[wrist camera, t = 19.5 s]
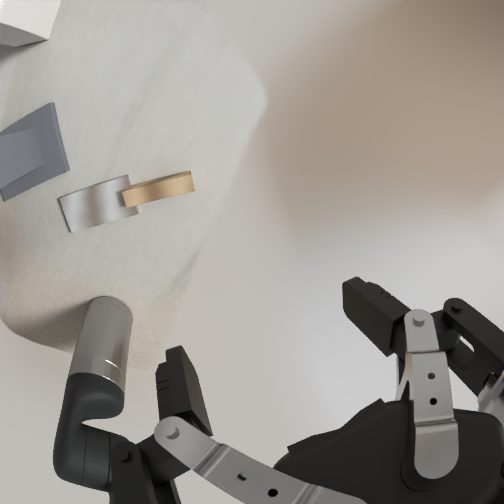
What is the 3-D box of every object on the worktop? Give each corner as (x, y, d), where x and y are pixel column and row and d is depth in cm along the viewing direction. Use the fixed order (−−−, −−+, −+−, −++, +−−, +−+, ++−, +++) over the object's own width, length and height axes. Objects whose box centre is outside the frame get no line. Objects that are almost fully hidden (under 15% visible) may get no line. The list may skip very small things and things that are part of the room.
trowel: (188, 159, 37) (188, 162, 35) (196, 197, 40) (197, 203, 38) (61, 196, 34) (55, 201, 32) (73, 230, 37) (68, 237, 35)
